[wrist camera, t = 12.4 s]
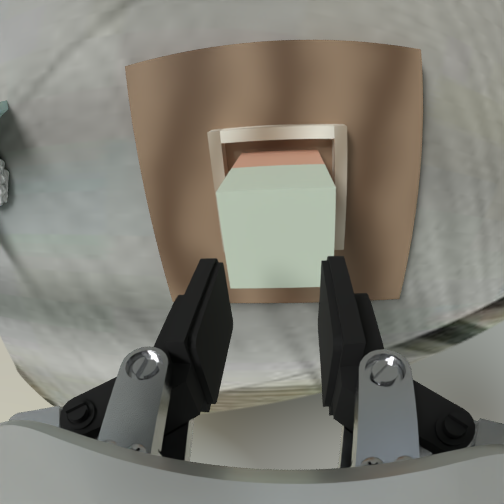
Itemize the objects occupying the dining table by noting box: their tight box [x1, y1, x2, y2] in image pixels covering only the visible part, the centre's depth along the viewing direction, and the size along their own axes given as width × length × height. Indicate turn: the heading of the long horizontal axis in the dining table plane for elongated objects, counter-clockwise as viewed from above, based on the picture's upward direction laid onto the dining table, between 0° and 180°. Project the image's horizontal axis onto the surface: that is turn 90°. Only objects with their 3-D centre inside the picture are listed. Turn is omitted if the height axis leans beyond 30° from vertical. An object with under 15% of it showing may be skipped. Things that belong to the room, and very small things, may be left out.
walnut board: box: [125, 40, 423, 303], centre depth 21 cm, size 20×20×3 cm
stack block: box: [216, 150, 336, 288], centre depth 17 cm, size 5×5×8 cm
